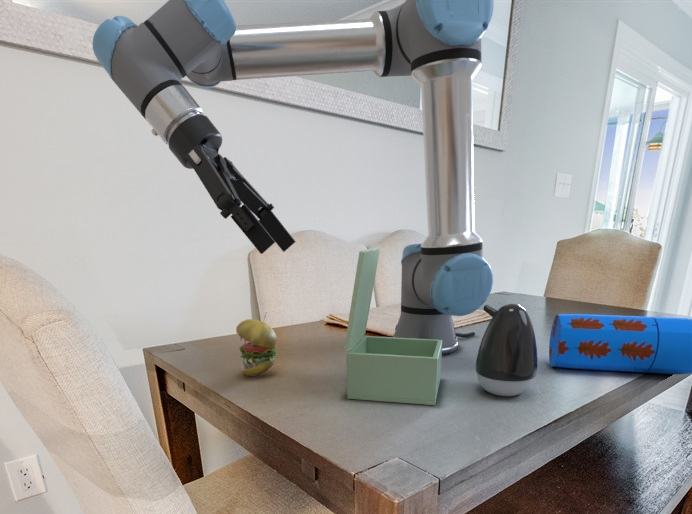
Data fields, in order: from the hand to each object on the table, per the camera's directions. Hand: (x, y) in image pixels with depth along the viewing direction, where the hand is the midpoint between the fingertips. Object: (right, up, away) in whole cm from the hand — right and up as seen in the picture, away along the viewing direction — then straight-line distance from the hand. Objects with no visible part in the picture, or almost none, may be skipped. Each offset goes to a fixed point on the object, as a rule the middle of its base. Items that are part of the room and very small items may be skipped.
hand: (280, 247), depth 74 cm
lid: (+14, -8, +2) cm, 16 cm away
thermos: (+51, -13, +19) cm, 56 cm away
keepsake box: (+19, -23, +7) cm, 30 cm away
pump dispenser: (+38, -23, +6) cm, 45 cm away
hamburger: (-7, -20, +14) cm, 25 cm away
